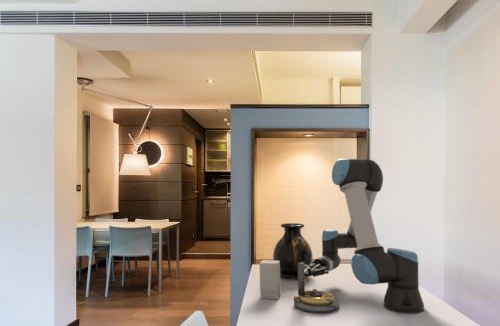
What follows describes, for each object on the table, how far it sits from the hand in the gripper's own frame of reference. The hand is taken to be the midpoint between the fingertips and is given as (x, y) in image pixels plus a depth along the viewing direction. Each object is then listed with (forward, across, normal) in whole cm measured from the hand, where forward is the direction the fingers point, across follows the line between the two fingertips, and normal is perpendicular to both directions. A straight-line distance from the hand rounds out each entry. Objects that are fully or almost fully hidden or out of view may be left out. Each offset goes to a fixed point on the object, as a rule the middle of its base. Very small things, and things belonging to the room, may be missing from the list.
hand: (299, 276), depth 156 cm
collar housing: (-2, -7, -11) cm, 13 cm away
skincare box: (-1, +15, -12) cm, 19 cm away
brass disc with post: (-2, -7, -9) cm, 11 cm away
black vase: (-40, +24, -12) cm, 49 cm away
